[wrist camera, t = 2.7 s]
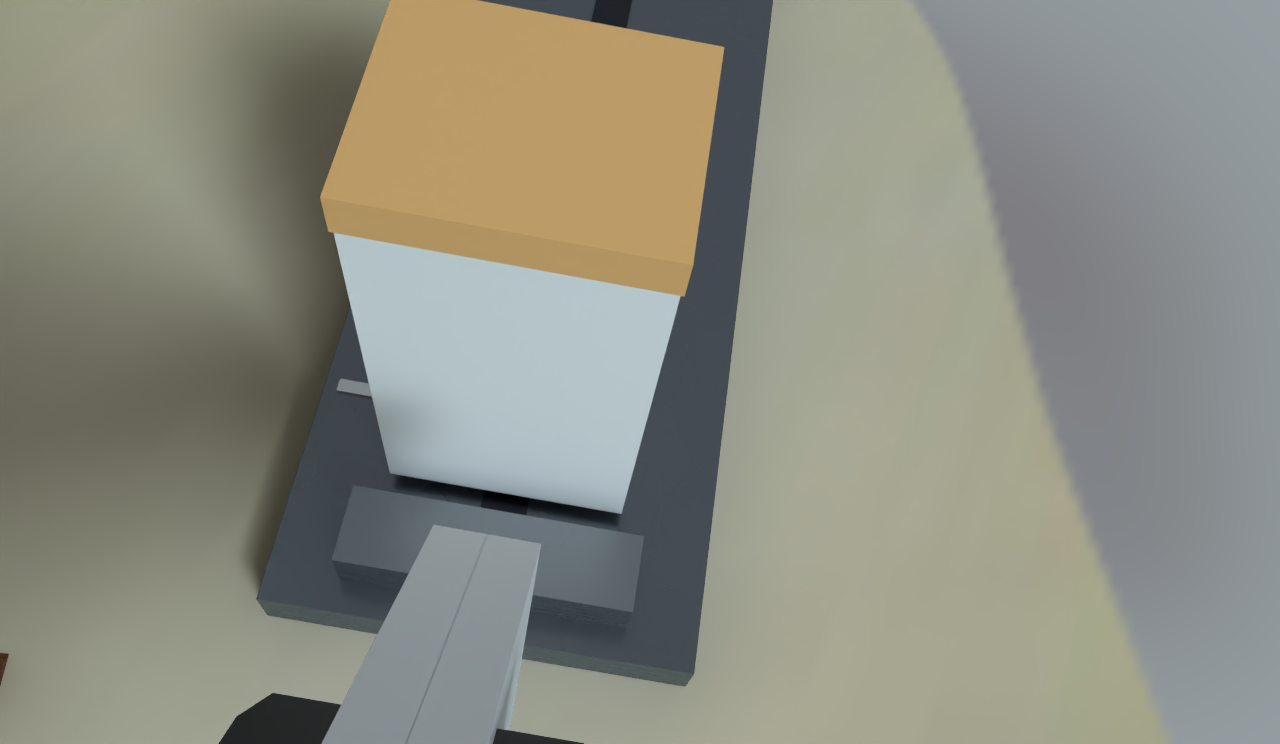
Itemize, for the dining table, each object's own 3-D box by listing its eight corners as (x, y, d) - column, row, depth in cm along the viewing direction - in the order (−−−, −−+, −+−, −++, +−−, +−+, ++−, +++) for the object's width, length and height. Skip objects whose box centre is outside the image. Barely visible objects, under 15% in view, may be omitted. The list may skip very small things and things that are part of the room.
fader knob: (623, 516, 23) (693, 265, 15) (387, 475, 23) (319, 197, 15) (649, 351, 25) (724, 46, 17) (431, 312, 25) (395, -16, 17)
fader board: (685, 686, 23) (703, 660, 21) (267, 615, 23) (243, 580, 21) (780, -109, 36) (798, -175, 34) (510, -161, 36) (511, -232, 33)
